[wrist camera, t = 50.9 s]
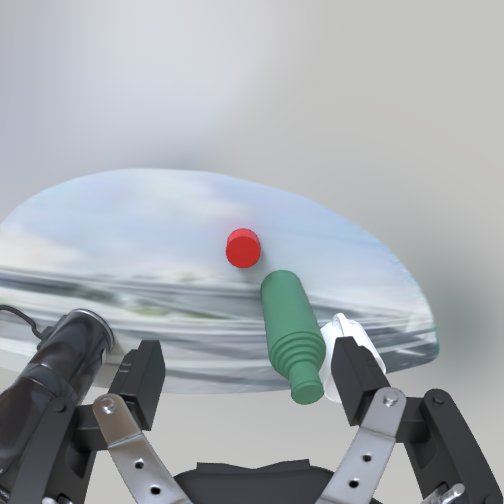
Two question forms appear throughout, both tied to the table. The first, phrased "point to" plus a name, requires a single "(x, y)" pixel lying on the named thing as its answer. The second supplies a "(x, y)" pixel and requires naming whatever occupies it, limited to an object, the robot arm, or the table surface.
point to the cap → (243, 248)
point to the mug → (330, 333)
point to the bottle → (293, 335)
